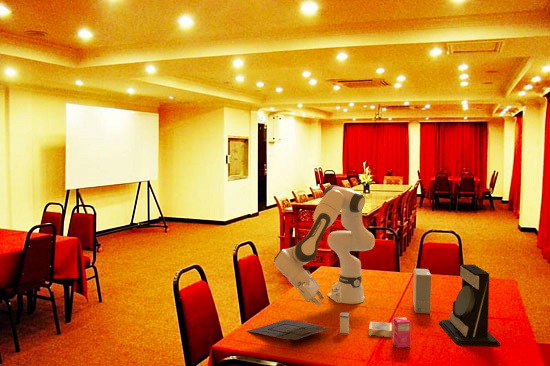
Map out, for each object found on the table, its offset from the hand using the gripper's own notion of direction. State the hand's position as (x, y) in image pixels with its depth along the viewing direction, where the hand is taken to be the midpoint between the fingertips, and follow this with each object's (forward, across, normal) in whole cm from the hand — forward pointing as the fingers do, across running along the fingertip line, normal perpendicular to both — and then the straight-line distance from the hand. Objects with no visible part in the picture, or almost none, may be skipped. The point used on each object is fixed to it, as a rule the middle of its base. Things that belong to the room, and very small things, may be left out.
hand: (321, 301), depth 231 cm
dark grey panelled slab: (0, -8, +20) cm, 21 cm away
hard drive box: (+42, +45, -23) cm, 66 cm away
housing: (+17, 0, +2) cm, 17 cm away
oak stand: (+28, +4, -9) cm, 30 cm away
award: (+56, +12, -36) cm, 68 cm away
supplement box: (+35, -10, -16) cm, 40 cm away
